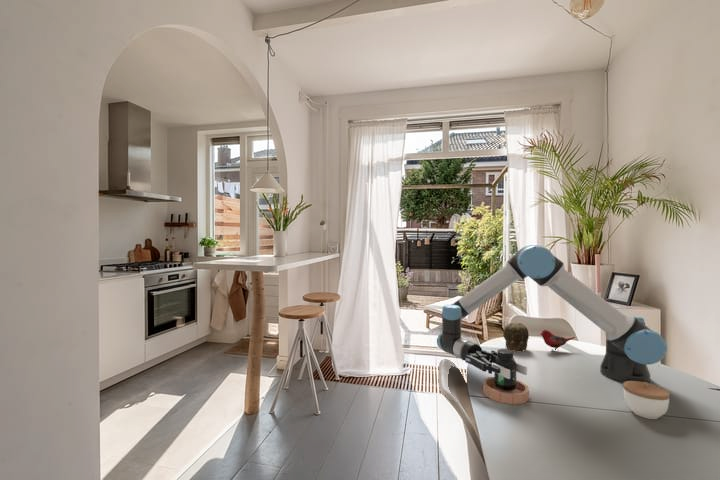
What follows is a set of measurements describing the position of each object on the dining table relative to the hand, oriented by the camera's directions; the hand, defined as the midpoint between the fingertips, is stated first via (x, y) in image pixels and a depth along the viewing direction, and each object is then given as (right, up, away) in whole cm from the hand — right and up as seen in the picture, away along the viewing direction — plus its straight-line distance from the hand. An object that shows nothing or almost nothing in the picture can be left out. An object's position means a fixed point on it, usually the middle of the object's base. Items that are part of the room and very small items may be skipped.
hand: (517, 372), depth 110 cm
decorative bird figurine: (+41, -9, +49) cm, 65 cm away
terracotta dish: (-2, -9, +5) cm, 10 cm away
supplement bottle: (-2, -7, +5) cm, 8 cm away
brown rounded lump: (+23, -9, +52) cm, 58 cm away
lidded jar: (+34, -9, -8) cm, 37 cm away
